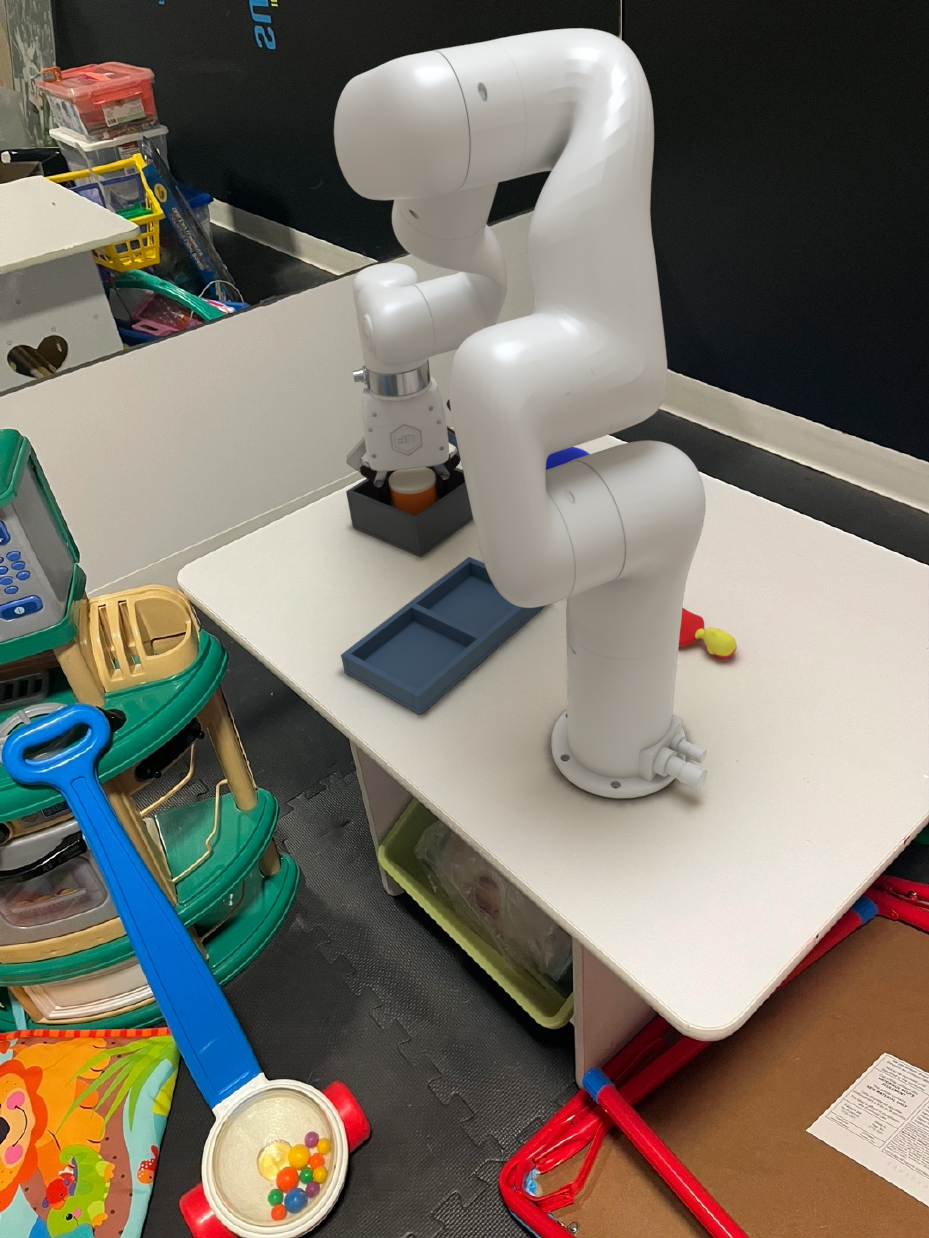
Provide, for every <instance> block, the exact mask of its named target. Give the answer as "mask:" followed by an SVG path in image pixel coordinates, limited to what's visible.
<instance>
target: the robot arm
mask: <svg viewBox="0 0 929 1238" xmlns="http://www.w3.org/2000/svg"><path fill="white" fill-rule="evenodd" d="M641 64H642V63H640V60H639V59H638V58H637V55H636V54H635V53H634V51H633V50H632V49H631V48H630V46H629V45H627V43H625V41H624V40H622V39H621V38H620V37H618V36H617V35H614V34H612V33H610V32H607V31H603V30H599V29H594V28H583V27H579V28H559V29H549V30H541V31H534V32H528V33H522V34H517V35H510V36H506V37H500V38H495V39H491V40H486V41H482V42H474V43H470V44H464V45H463V44H462V45H456V46H451V47H444V48H439V49H433V50H428V51H424V52H419V53H413V54H408V55H404V56H400V57H397V58H394V59H391V60H389V61H386V62H384V63H383V64H380V65H378V66H377V67H374V68H372V69H369V70H367V71H365V72H362V73H360V74H358V75H356V76H354V77H353V78H351V79H350V80H349V81H348V82H347V83H346V84H345V86H344V88H343V90H342V91H341V94H340V95H339V99H338V101H337V105H336V109H335V114H334V121H333V122H334V123H333V139H334V148H335V154H336V158H337V161H338V165H339V168H340V170H341V172H342V175H343V177H344V179H345V180H346V182H347V184H348V185H349V186H350V188H351V189H352V190H353V191H354V192H355V193H357V194H358V195H360V196H361V197H362V198H365V199H368V200H374V201H393V205H392V211H391V225H392V229H393V232H394V235H395V237H396V239H397V242H398V243H399V244H400V245H401V246H402V248H403V249H404V250H405V251H406V252H408V254H410V255H411V256H413V257H414V258H416V259H418V260H419V261H421V262H423V263H425V264H428V265H431V266H434V267H438V268H442V269H446V270H452V271H456V272H457V273H454V274H449V275H443V276H440V277H435V278H433V279H428V280H424V281H420V280H421V279H420V277H419V274H418V272H417V271H416V270H415V269H414V268H413V267H411V266H410V265H408V264H405V263H400V262H384V263H377V264H373V265H370V266H367V267H364V268H363V269H361V270H360V271H358V273H356V275H355V276H354V278H353V282H352V293H353V300H354V301H353V302H354V307H355V313H356V320H357V327H358V333H359V338H360V344H361V345H360V346H361V352H362V358H363V359H362V360H363V365H362V368H359V369H357V370H356V369H355V370H352V372H353V373H352V374H353V381H354V383H361V384H362V383H363V384H364V387H363V389H362V396H361V416H362V417H361V418H362V428H363V436H362V438H361V439H359V441H358V442H357V443H356V444H355V446H353V448H352V449H351V450H350V451H349V452H348V454H347V455H346V458H345V459H346V460H345V461H346V465H348V466H349V467H350V468H352V469H353V470H355V471H356V472H358V473H359V474H360V475H361V476H362V477H364V478H365V479H369V480H370V481H372V482H373V483H374V485H375V486H376V487H377V489H378V495H379V501H380V502H381V503H384V504H386V505H389V506H391V507H392V504H391V495H390V489H389V482H388V477H386V474H387V471H395V470H404V469H413V468H421V467H429V466H434V468H435V470H436V480H437V489H438V498H439V500H440V499H441V498H443V497H444V496H446V495H447V494H449V488H448V478H449V476H450V473H451V472H452V471H453V470H454V469H455V468H458V466H459V465H460V464H461V468H462V470H463V473H464V477H465V482H466V487H467V491H468V496H469V501H470V506H471V510H472V515H473V520H472V521H473V525H474V528H475V532H476V538H477V542H478V546H479V550H480V554H481V557H482V561H483V563H484V564H485V567H486V569H487V572H488V574H489V577H490V579H491V581H492V583H493V585H494V586H495V588H496V589H497V591H498V592H499V593H500V594H501V595H502V596H503V597H504V598H505V599H506V600H507V601H508V602H510V603H512V604H513V605H516V606H519V607H524V608H533V607H540V606H544V605H545V606H548V605H550V604H554V603H557V602H560V601H562V600H565V599H566V609H565V618H566V620H565V622H566V623H565V629H566V630H565V634H566V635H565V636H566V637H565V638H566V639H565V640H566V644H565V645H566V703H567V704H566V705H567V706H566V710H564V712H563V713H562V714H560V716H559V717H558V719H557V720H556V722H555V724H554V726H553V728H552V733H551V754H552V758H553V760H554V763H555V765H556V767H557V768H558V770H559V771H560V773H561V774H562V775H563V776H564V777H565V778H566V779H567V780H568V781H569V782H570V783H572V784H574V785H575V786H576V787H578V788H580V789H581V790H584V791H586V792H588V793H590V794H594V795H597V796H600V797H604V798H611V799H634V798H640V797H645V796H647V795H651V794H654V793H656V792H658V791H661V790H662V789H664V788H665V787H667V786H668V785H670V784H671V783H672V782H673V781H674V780H675V779H676V780H678V781H679V783H682V784H684V785H686V786H688V787H690V788H692V789H694V790H696V791H699V790H700V789H701V788H702V787H703V785H704V784H705V782H706V779H707V776H708V770H707V769H704V768H702V767H701V766H698V765H696V764H694V763H692V762H690V761H686V757H687V758H688V759H690V760H692V761H694V762H696V763H698V764H703V763H704V761H705V760H706V757H707V754H708V749H706V748H704V747H702V746H700V745H697V744H696V743H691V742H689V741H687V738H686V734H685V730H684V729H683V723H684V719H682V718H681V717H679V716H677V715H674V704H675V703H674V702H675V692H676V682H677V680H676V679H677V669H678V658H679V647H680V646H679V637H680V628H681V618H682V607H683V608H684V605H683V604H684V600H685V599H684V597H685V592H686V585H687V580H688V577H689V572H690V569H691V566H692V562H693V560H694V557H695V554H696V550H697V548H698V545H699V542H700V540H701V537H702V533H703V528H704V523H705V519H706V518H705V517H706V492H705V487H704V483H703V480H702V476H701V474H700V472H699V470H698V468H697V466H696V464H695V463H694V462H693V461H692V460H691V458H690V457H689V455H687V454H686V453H685V452H683V450H681V449H679V448H678V447H677V446H674V445H672V444H670V443H666V442H663V441H658V440H638V441H637V440H636V441H631V442H626V443H622V444H617V445H614V446H611V447H608V448H605V449H602V450H599V451H596V452H592V453H589V454H590V455H587V456H584V457H580V458H577V459H574V460H572V461H569V462H567V463H565V464H562V465H559V466H556V467H553V468H550V469H547V470H545V469H546V460H547V457H548V456H549V455H550V454H552V453H555V452H558V451H561V450H564V449H568V448H571V447H577V446H580V445H582V444H585V443H589V442H591V441H594V440H597V439H600V438H604V437H607V436H609V435H612V434H614V433H618V432H620V431H623V430H626V429H628V428H630V427H633V426H635V425H638V424H640V423H642V422H644V421H646V420H648V419H649V418H651V417H652V416H653V415H655V414H656V413H657V412H658V410H659V409H661V407H662V405H663V403H664V402H665V399H666V394H667V390H668V374H669V373H668V358H667V348H666V338H665V329H664V321H663V312H662V304H661V303H662V302H661V295H660V287H659V278H658V269H657V263H656V254H655V247H654V240H653V239H654V238H653V233H652V221H651V219H652V217H651V198H652V197H651V195H652V177H653V165H654V163H653V162H654V148H655V123H654V122H655V121H654V108H653V107H654V106H653V100H652V93H651V89H650V86H649V83H648V80H647V77H646V74H645V72H644V69H643V67H642V65H641ZM542 172H550V173H549V175H548V177H547V178H546V180H545V182H544V185H543V186H542V188H541V192H540V193H539V195H538V198H537V201H536V203H535V206H534V209H533V212H532V215H531V218H530V221H529V226H528V228H527V229H528V230H527V236H526V254H527V262H528V267H529V272H530V275H531V276H530V277H531V283H532V288H533V299H534V301H533V302H534V303H533V304H534V306H533V311H532V313H531V314H529V315H526V316H525V315H524V316H522V317H517V318H515V319H511V320H507V321H504V322H500V323H497V322H498V320H499V318H500V314H501V312H502V309H503V306H504V305H505V302H506V301H505V300H506V297H507V291H508V274H507V267H506V266H507V265H506V260H505V256H504V253H503V249H502V246H501V244H500V242H499V241H498V239H497V237H496V235H495V234H494V232H493V230H492V229H491V228H490V227H489V225H488V220H489V216H490V212H491V210H492V206H493V203H494V199H495V196H496V193H497V189H498V185H499V183H502V182H506V181H510V180H514V179H518V178H521V177H525V176H530V175H533V174H537V173H538V174H539V173H542ZM455 350H456V351H455ZM451 351H455V353H454V356H453V359H452V361H451V365H450V369H449V378H448V400H449V399H450V408H451V411H450V414H451V419H452V425H453V429H452V428H451V427H449V426H448V425H447V420H446V414H445V413H446V412H445V407H444V403H443V399H442V395H441V391H440V389H439V388H440V387H439V386H438V383H437V380H436V379H435V378H434V377H433V376H431V371H430V360H429V358H431V357H434V356H438V355H441V354H445V353H448V352H451ZM450 445H452V446H453V447H455V448H454V450H453V451H451V452H450ZM365 455H366V457H367V461H365V460H364V459H363V457H364V456H365ZM545 606H544V607H545Z"/></svg>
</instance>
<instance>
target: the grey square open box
mask: <svg viewBox="0 0 929 1238" xmlns="http://www.w3.org/2000/svg"><path fill="white" fill-rule="evenodd" d="M426 468H429V469H431V470H432V471H433V472H434V473H435V476H436V470H435V468H434V466H429V467H426ZM395 471H397V470H395ZM395 471H387V474H386V477H388V482H389V477H390V476H391V474H392V473H394V472H395ZM436 488H437V480H436ZM448 488H449V494H447V495H446V496H444V497H443V498H441V499H440V500H439V498H438V501H437V502H436V503H434V504H433V505H431V506H430V507H428V508H427V509H425V510H424V511H423V512H421V513H420V514H418V515H417V516H414V515H411V514H409V513H406V512H404V511H401V510H399V509H396V508H394V507H393V504H392V498H391V504H392V507H391V506H389V505H386V504H384V503H381V502H380V501H379V495H378V489H377V487H376V486H375V485H374V483H373V482H372V481H370V480H369V479H367V478H365V479H363V480H362V481H360V482H358V483H357V484H355V485H353V486H352V487H350V488H349V489H347V490H346V491H345V493H346V498H347V504H348V509H349V510H348V511H349V515H350V520H351V525H352V528H353V529H355V530H358V531H359V532H362V533H364V534H367V535H369V536H371V537H373V538H376V539H378V540H380V541H383V542H385V543H387V544H390V545H392V546H394V547H397V548H399V549H401V550H403V551H405V552H408V553H410V554H413V555H415V556H417V557H419V558H422V557H424V556H425V555H426V554H428V553H429V552H430V551H432V550H433V549H434V548H436V547H438V546H439V545H440V544H442V543H443V542H444V541H446V540H447V539H449V538H450V537H451V536H452V535H454V534H456V533H457V532H458V531H459V530H461V529H462V528H463V527H464V526H466V525H467V524H469V523H470V522H471V521H474V520H473V515H472V510H471V506H470V501H469V496H468V491H467V487H466V482H465V477H464V473H463V468H462V469H461V468H459V467H456V468H455V469H454V470H453V471H452V472H451V473H450V476H449V478H448ZM389 489H390V486H389ZM390 495H391V491H390ZM437 497H438V489H437Z"/></svg>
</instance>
